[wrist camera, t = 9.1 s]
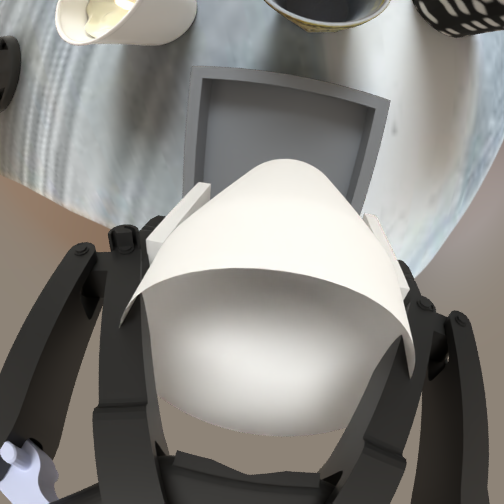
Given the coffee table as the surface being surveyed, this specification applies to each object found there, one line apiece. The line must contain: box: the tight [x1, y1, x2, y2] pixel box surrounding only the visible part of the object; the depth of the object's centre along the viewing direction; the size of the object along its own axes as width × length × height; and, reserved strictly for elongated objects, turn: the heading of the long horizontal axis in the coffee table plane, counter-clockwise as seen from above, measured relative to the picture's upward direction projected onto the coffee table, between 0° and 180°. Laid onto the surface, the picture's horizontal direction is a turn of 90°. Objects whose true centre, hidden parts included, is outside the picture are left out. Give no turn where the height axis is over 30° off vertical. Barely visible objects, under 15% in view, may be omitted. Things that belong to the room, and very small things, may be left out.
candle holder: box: [55, 0, 197, 46], centre depth 16 cm, size 10×10×12 cm
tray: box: [182, 66, 391, 216], centre depth 27 cm, size 18×18×4 cm
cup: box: [119, 159, 415, 437], centre depth 12 cm, size 9×9×12 cm
